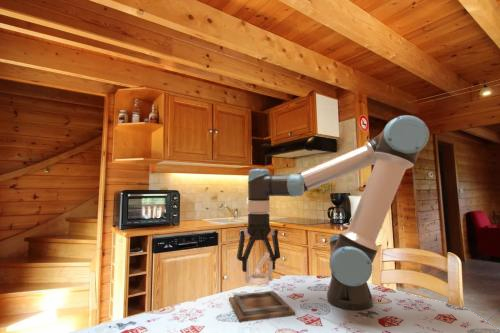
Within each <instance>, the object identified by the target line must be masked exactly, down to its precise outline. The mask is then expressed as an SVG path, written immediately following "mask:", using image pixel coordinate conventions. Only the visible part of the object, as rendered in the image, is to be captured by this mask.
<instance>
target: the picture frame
mask: <svg viewBox="0 0 500 333" xmlns="http://www.w3.org/2000/svg"><path fill="white" fill-rule="evenodd" d="M228 301H229V303H230V305H231V307H232V309H233V312H234V314H235V316H236V317H237V320H238V322H239V323H243V322H251V321H258V320H267V319H273V318H276V319H277V318H283V317H291V316H296V311H295V310H294V309H293V308H292V306H290V304H288V303H287V302H286V301H285V300H284V299H283V298H282V297H281V296H280V295H279V294H278V293H277V292H276V291H274V290H268V291H259V292H250V293H238V294H233V296H229V297H228Z"/></svg>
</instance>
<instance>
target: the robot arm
mask: <svg viewBox="0 0 500 333" xmlns="http://www.w3.org/2000/svg"><path fill="white" fill-rule="evenodd" d="M429 138H430V129H429V128H428V126H427V125H426V123H425V122H424V120H422V119H420V118H419V117H417V116H414V115H407V114H406V115H405V114H404V115H400V116H397V117H395V118H392V119H391V120H390V121H388V122H387V124H386V125H385V127H384V128H383V129H382V131H381V132H380V133H379V134H378V135H376V136H375V137H373V138H371V139H370V140H367V141H365V143H364V145H362V146H360V147H357V148H356V149H355V148H354V149H353V150H351V151H348V152H346V153H343V154H341V155H338V156H336V157H334V158H331V159H329V160H326V161H324V162H322V163H320V164H317V165H315V166H312V167H310V168H307V169H305V170H303V171H300V172H299V173H291V174H290V173H289V174H287V173H286V174H271V173H270V170H269V169H267V168H252V169H250V170H249V171H248V178H247V180H248V181H247V187H248V188H247V192H248V193H247V194H248V202H247V203H248V204H247V208H248V209H247V210H248V214H247V228H245V229H240V230H239V231H238V232H239V233H238V234H239V242H238V248H237V254H236V259H237V260H238V261H241V267H242V268H241V270H242V272H243V273H244V281H245V283H249V276H250V262H249V261H248V259H249V256H250V254H251V251H252V249H253V246H254V244H255V242H256V241H262V242H263V244H264V246H265V248H266V250H267V251H266V252H269V254H270V256H269V258H268V259H267V276H268V277H269V279H270V282H272V281H273V278H274V276H273V274H274V272H273V271H275V269H276V261H277V259H280V258H281V251H280V246H279V239H278V235H279V230H278V229H276V228H271V227H270V214H269V212H270V197H292V198H293V197H302V196H303V195H304V193H305V192H307V191H311V190H312V189H315V188H317V187H320V186H322V185H324V184H325V185H326V184H327V183H330V182H333V181H335V180H337V179H340V178H343V177H345V176H347V175H350V174H353V173H355V172H357V171H360V170H362V169H365V168H367V167H370V166H373V168H372V171H371V172H370V175H369V178H368V179H367V182H366V185H365V187H364V189H363V191H362V194H361V196H360V199H359V200H358V204H357V206H356V208H355V211H354V213H353V215H352V218H351V220H350V223H349V225H348V228H347V229H345V230H343V231H340V234H339V235H338V234H332V235H331V236H330V237H329V246H330V248H329V249H330V256H329V263H328V264H329V268H330V272H331V274H330V275H331V276H330V277H331V279H330V282H329V286H328V288H327V292H326V297H327V298H326V299H327V301H328V302H329V304H331V305H333V306H335V307H337V308H340V309H345V310H351V311H353V310H354V311H356V310H357V311H359V310H360V311H362V310H367V309H370V308H372V307H373V306H374V305H373V304H374V303H373V301H374V300H373V295H372V293H371V289H370V287H369V285H368V281H369V280H370V279H371V276H372V274H373V262H374V260H375V258H376V255H377V253H378V250H379V248H378V246H377V244H376V241H377V238H378V237H379V233H380V231H381V230H382V229H381V228H382V226H383V224H384V222H385V220H386V218H387V215H388V212H389V211H390V207H391V205H392V203H393V201H394V198H395V196H396V194H397V191H398V189H399V186H400V184H401V181H402V179H403V177H404V175H405V172H406V170H407V169H411V168H413V167H414V166H415V164H416V161H417V158H418V157H419V154H420V152H421V151H422V149H424V148H425V146H427V144H428V142H429ZM247 234H248V236H249V238H248V243H247V245H246V247H245V248H244V246H245V242H246V240H245V239H246V236H247ZM269 234H270V235H271V239H272V245H271V244H270V240H269V237H268V236H269ZM272 247H273V248H272ZM244 249H245V250H244ZM249 284H250V283H249Z"/></svg>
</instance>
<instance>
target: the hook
mask: <svg viewBox="0 0 500 333" xmlns="http://www.w3.org/2000/svg"><path fill="white" fill-rule="evenodd" d="M269 258H270V254H269V252H268V251H265V253H264V254H263V255H262V256H261V258H260V259H259V260H258V262H257V263H256V264H255V266H254V270H253V273H252V274H249V284H251V285H259V286H261V285H267V284H270V282H271V281H270V279H269V277H268V274H266V273H263V272H262V270H261V268H262V267H263V265H264V264H265V263H266V261H268V259H269Z"/></svg>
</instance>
